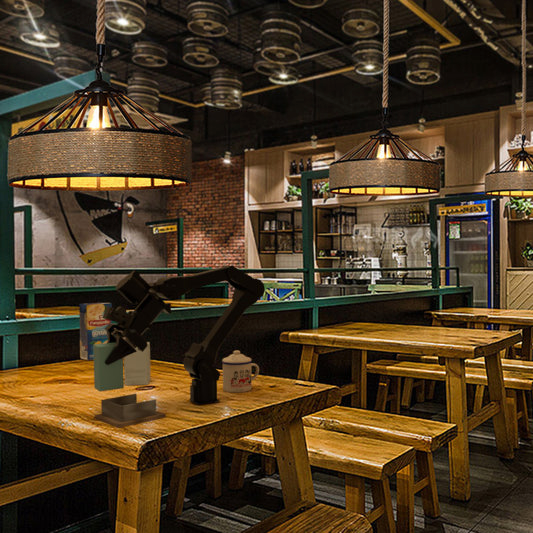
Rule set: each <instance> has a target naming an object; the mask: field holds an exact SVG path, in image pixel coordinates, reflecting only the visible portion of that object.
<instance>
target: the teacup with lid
mask: <svg viewBox="0 0 533 533" xmlns="http://www.w3.org/2000/svg"><path fill="white" fill-rule="evenodd" d="M252 362H253V361H252V358H251V357H248V356H246V355H245V354H243V353H241V351H240V350H234V351H232V354H229V356H227V357H224V358H222V359H221V363H222V389H223V391H224V392H227V393H246V392H248V391H251V390H252V386H253V385H252V381H254V380H255V379H256V378H257V377H258V376H259V374H260V373H259V372H260V367H259V365H258V364H256V363H252ZM252 367H254V368H255V373H254V374H253V376H252Z"/></svg>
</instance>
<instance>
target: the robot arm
mask: <svg viewBox="0 0 533 533" xmlns="http://www.w3.org/2000/svg"><path fill="white" fill-rule="evenodd" d="M222 282H227V283H228V285H229V286H231V288H233V289H234V290H233V294H232V299H231V302H230V303H229V305H228V306H227V307H226V309H225V310H224V312H223V313H222V315H221V316H220V317H219V319H218V320H217V321H216V323H215V324H214V326H213V327H212V328H211V330H210V331H209V333H208V334H207V335H206V337H205V338H204V340H203V341H202V342H200V343H195V342H193V343H191V345H190V347H189V349H188V351H187V352H185V353H184V354H183V355H184V359H183V367H184V369H185V371H186V372H188V374H189V377H190V378H191V384H190V385H189V395H190V397H189V401H190V402H191V403H194V404H196V405H197V406H200V405H207V404H213V403H214V404H215V403H220V402H221V400H220V399H218V381H219V380H220V376H221V372H220V371H219V370H218V369H217V368H216V367H215V366H214V365H215V362H216V360H217V359H216V358H217V354H218V351H219V349H220V348H221V346H222V345H223V343H224V341H225V340H226V338H228V336H229V334H231V332H232V330H233V329H234V327H235V326H236V325H237V323H238V321H240V319H241V317H242V315H244V313H245V311H246V310H247V309H249V308H250V307H252V306H253V305H254V304H256V303H257V302H258V301H259V300H261V298H262V297H263V296H264V294H265V292H266V289H265V284H264V282H263V281H262V280H261V279H259V278H255V277H252V276H251V275H250V274H248V273H246V272H244V271H241V270H240V269H239V268H238V267H236V266H234V265H223V266H221V267H217V268H213V269H210V270H206V271H202V272H198V273H194V274H190V275H181V276H178V275H177V276H163V277H160V278H158V279H157V280H156V282H147V281H146V280H145V279H144V278H143V277H142V276H141V274H140V273H139V272H138V271H137V270H132V271H131V272H130V273H128V274H127V275H126V276H125V277H124V278H121V279H120V280H119V282H118V283H117V285H116V286H115V290H116V291H117V292H118V293H120V294H121V296H123V298H125V299H126V300H127V301H128V302H129V303H130V304H134V303H136V304H138V305H137V306H136V308H134V310H129V311H127V308H125V307H123V306H120V305H119V306H118V307H116V308H115V307H113V306H112V307H108V306H107V308H106V310H105V312H104V315H103V317H102V318H104V319H108V320H111V321H112V324H108V326H107V327H106V328H105V330H106V331H107V337H108V341H107V343H116V342H117V343H116V345H115V347H114V348H113V350H112V351H111V353H110V354H109V356H108V357H107V359H106V361H105V364H106V365H110V364H112V363H114V362H115V361H117V360H119V359H122V358H123V359H124V357H126V356H128V355H130V354H132V353H134V352H135V353H136V352H137V351H136V350H135V348H136V347H138V350H139V351H141V352H143V351H144V350H145V349H146V347H147V346H148V345H147V342H148V340H147V339H146V338H145V337H143V334H144V333H145V332H146V331H147V330H151V328H152V327H153V325H152V324H153V323H154V322H155V321H156V319H157V318H158V317H159V316H160V315H161V314H162V312H163V313H165V314H168V315H169V314H170V315H171V314H172V303H170V302H165V301H164V300H163V299H166V300H175V299H176V300H177V298H179V297H182V296H184V295H186V294H187V293H189V292H191V291H192V290H194V289H195V290H197V289H199V288H202V287H206V286H210V285H214V284H218V283H222ZM153 294H156V295H157V296H155V295H153Z"/></svg>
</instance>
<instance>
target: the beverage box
mask: <svg viewBox="0 0 533 533" xmlns="http://www.w3.org/2000/svg"><path fill="white" fill-rule="evenodd" d="M78 305H79V306H78V307H79V312H78V313H79V358H80V359H82V360H86V361H92V360H93V361H94V354H93V345H95V344H105V343H107V341H108V337H107V331H106V330H105V328H106V327H107V326H108V324H112V323H113V321H111V320H108V319H104V318H102V317H103V315H104V312H105V310H106V308H107V306H108V307H112V308H113V304H112V303H111V302H93V303H92V302H89V303H79V304H78Z"/></svg>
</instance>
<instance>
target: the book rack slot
mask: <svg viewBox="0 0 533 533" xmlns="http://www.w3.org/2000/svg"><path fill="white" fill-rule="evenodd" d="M137 395H138V394H137V393H131V394H127V395H121V396H116V397H115V396H114V397H110V398H104V399H101V402H100V404H101V406H100V409H101V410H100V411H101V413H98V414H94V415H93V418H94V419H95V420H97V421H101V422H102V423H106V424H108V425H110V426H113V427H116V428H118V429H119V428H123V427H128V426H132V425H137V424H141V423H147V422H150V421H155V420H159V419H163V418H166V413H164V412H160V411H158V410H157V399H156V398H155V399H151V400H145V401H140V402H137V399H138V397H137Z"/></svg>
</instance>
